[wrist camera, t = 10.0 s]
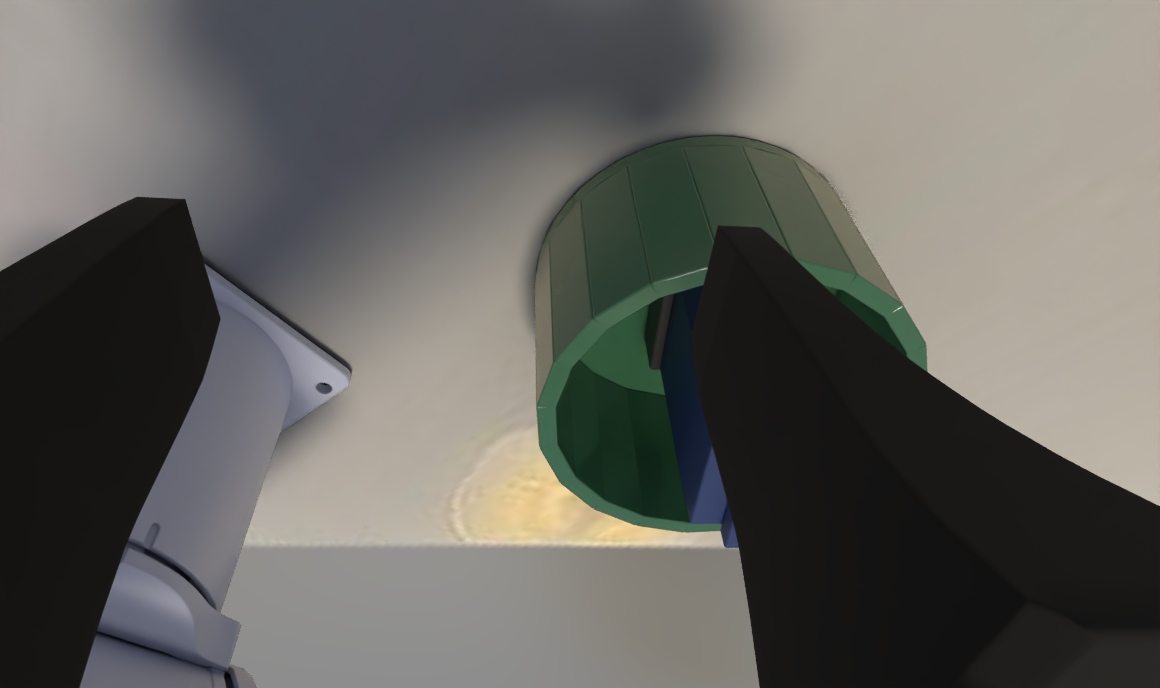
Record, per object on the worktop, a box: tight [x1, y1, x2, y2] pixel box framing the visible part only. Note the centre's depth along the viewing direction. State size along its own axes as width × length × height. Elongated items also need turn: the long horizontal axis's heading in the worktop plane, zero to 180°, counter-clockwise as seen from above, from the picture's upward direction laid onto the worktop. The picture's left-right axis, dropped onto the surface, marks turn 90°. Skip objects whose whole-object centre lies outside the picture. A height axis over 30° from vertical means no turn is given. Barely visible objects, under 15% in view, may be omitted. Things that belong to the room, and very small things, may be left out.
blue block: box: [644, 286, 739, 548], centre depth 21 cm, size 4×3×8 cm
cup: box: [535, 136, 927, 532], centre depth 22 cm, size 10×10×6 cm
